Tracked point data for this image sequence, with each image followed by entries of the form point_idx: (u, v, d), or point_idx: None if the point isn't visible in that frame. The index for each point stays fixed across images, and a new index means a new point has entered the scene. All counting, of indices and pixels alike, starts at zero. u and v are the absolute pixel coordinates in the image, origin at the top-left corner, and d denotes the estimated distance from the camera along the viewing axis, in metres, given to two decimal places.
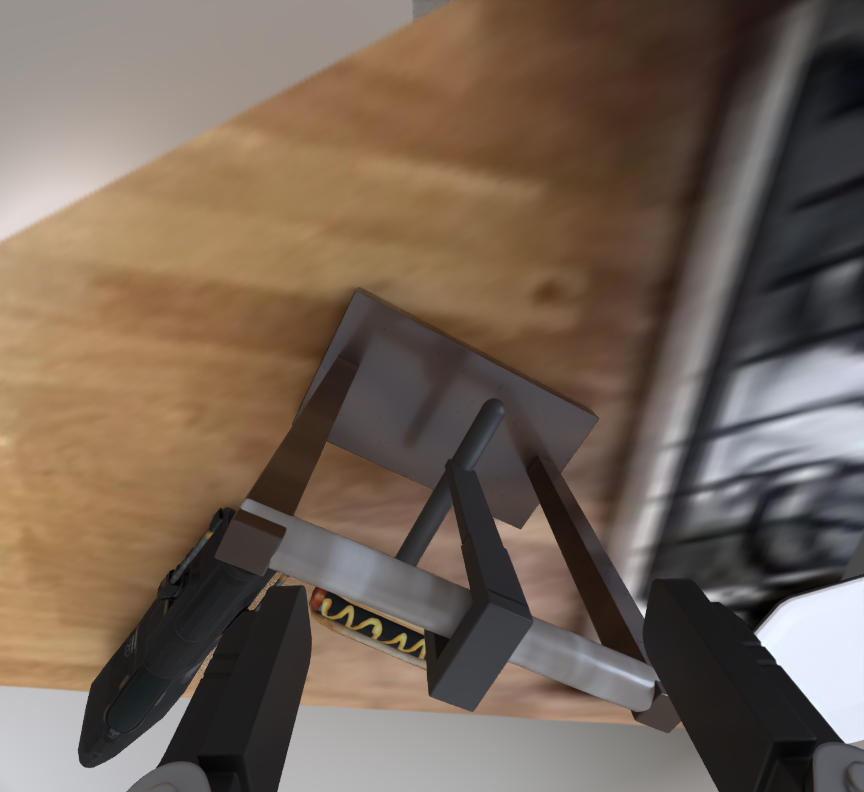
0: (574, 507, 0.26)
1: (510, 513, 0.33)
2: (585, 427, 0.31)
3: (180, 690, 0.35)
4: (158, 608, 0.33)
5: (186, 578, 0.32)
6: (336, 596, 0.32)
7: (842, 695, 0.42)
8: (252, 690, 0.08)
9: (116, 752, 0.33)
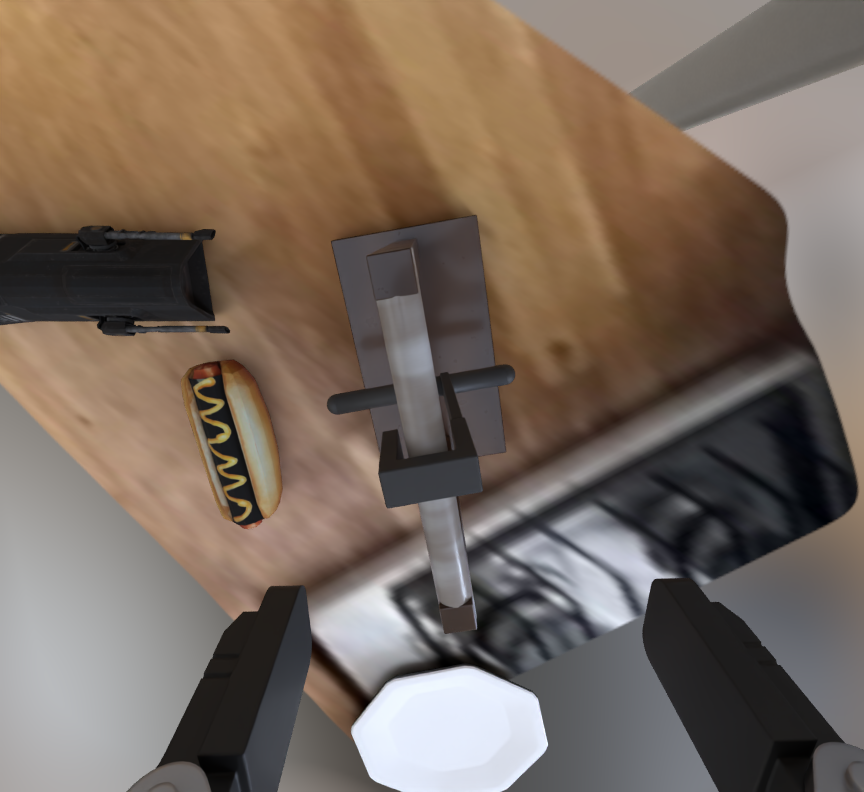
0: None
1: None
2: (493, 449, 0.37)
3: None
4: (54, 241, 0.29)
5: (114, 246, 0.29)
6: (221, 384, 0.31)
7: (430, 757, 0.51)
8: (252, 690, 0.08)
9: None
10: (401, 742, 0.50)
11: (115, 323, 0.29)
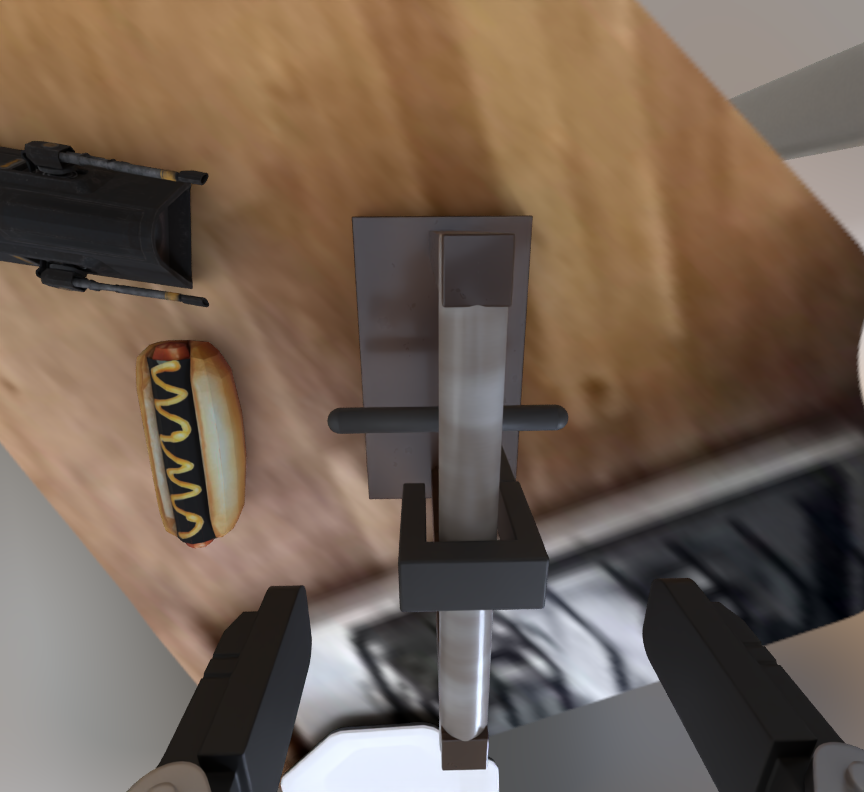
0: None
1: (380, 480, 0.31)
2: None
3: None
4: None
5: (73, 173, 0.22)
6: (187, 371, 0.25)
7: None
8: (252, 690, 0.08)
9: None
10: None
11: (60, 272, 0.23)
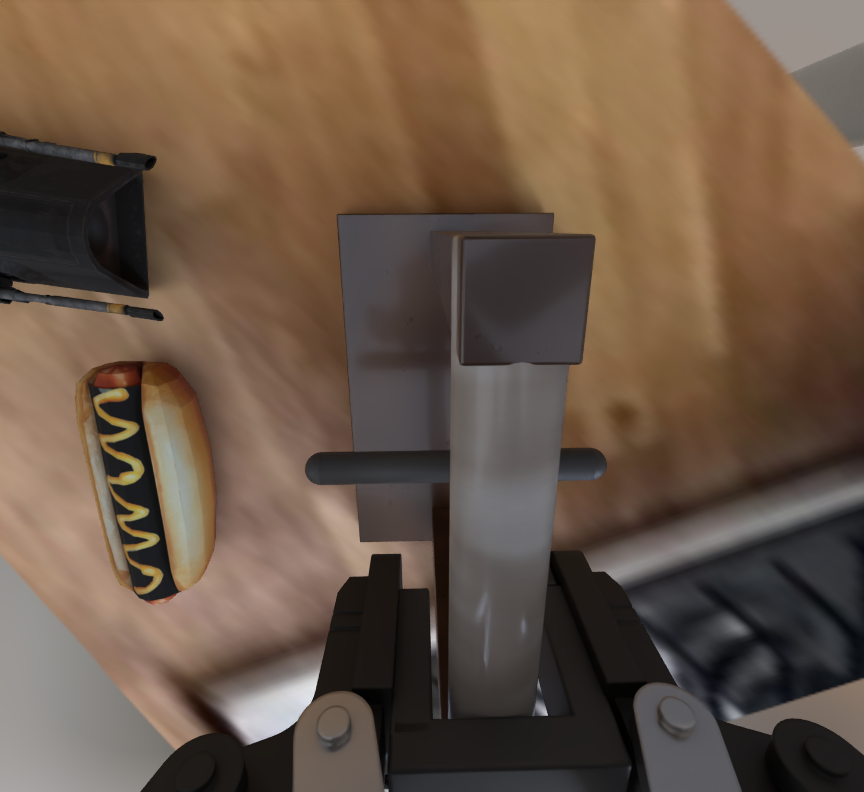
0: None
1: (373, 521, 0.27)
2: None
3: None
4: None
5: None
6: (137, 400, 0.21)
7: None
8: (383, 638, 0.09)
9: None
10: None
11: None
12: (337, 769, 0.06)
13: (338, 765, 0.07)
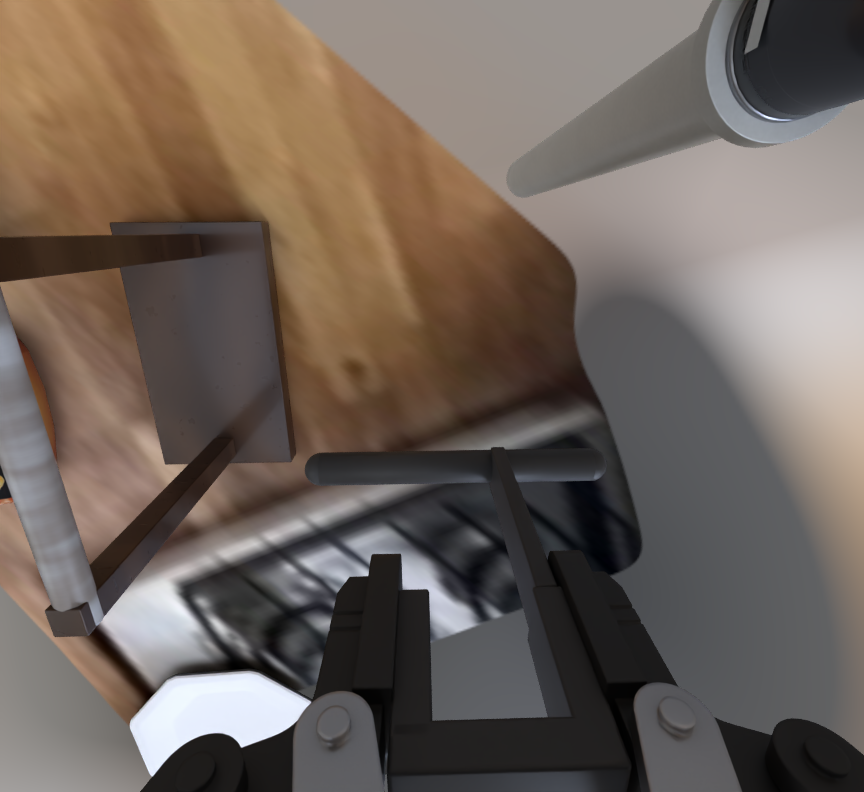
0: (202, 486, 0.31)
1: (172, 448, 0.36)
2: (278, 457, 0.37)
3: None
4: None
5: None
6: None
7: None
8: (383, 638, 0.09)
9: None
10: (186, 741, 0.49)
11: None
12: (337, 769, 0.06)
13: (338, 765, 0.07)
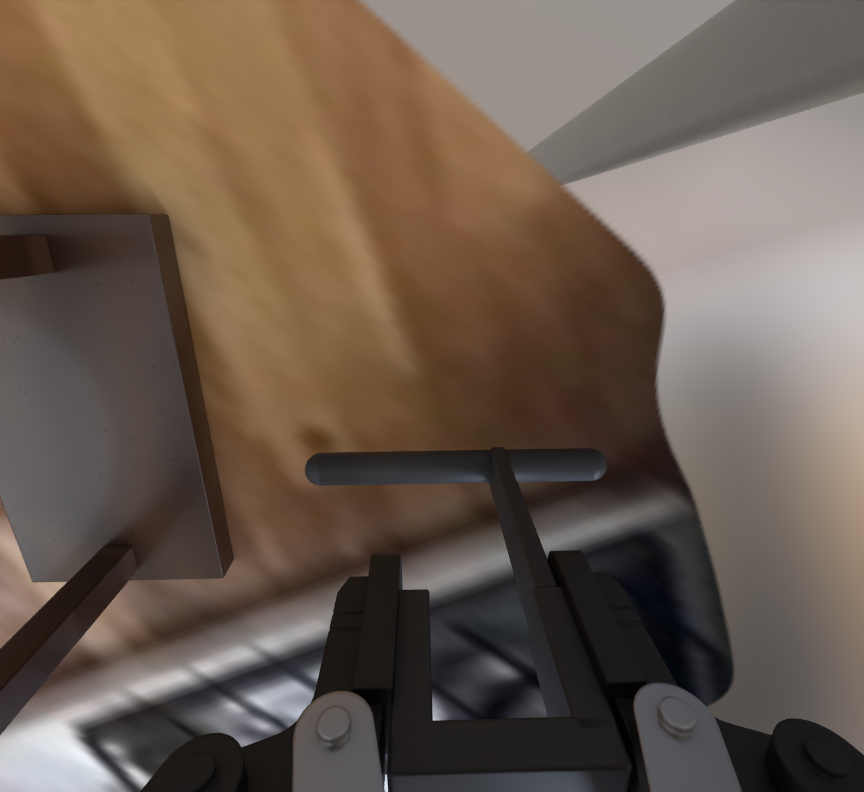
0: (53, 656, 0.18)
1: (40, 560, 0.24)
2: (202, 571, 0.24)
3: None
4: None
5: None
6: None
7: None
8: (383, 638, 0.09)
9: None
10: None
11: None
12: (337, 769, 0.06)
13: (338, 765, 0.07)
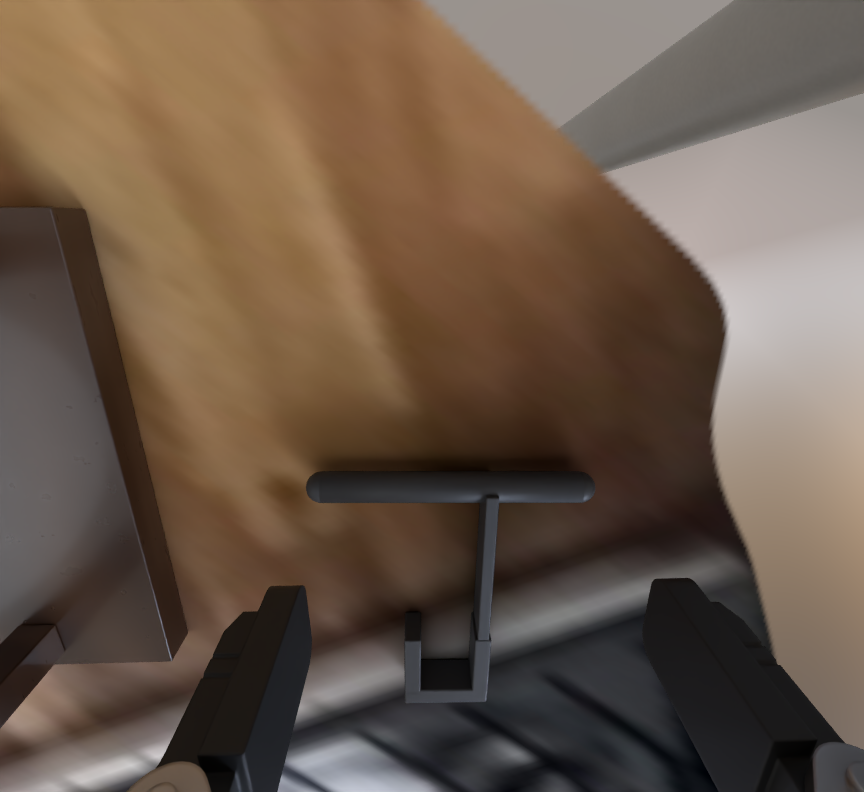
0: None
1: None
2: (145, 654, 0.19)
3: None
4: None
5: None
6: None
7: None
8: (252, 690, 0.08)
9: None
10: None
11: None
12: None
13: None
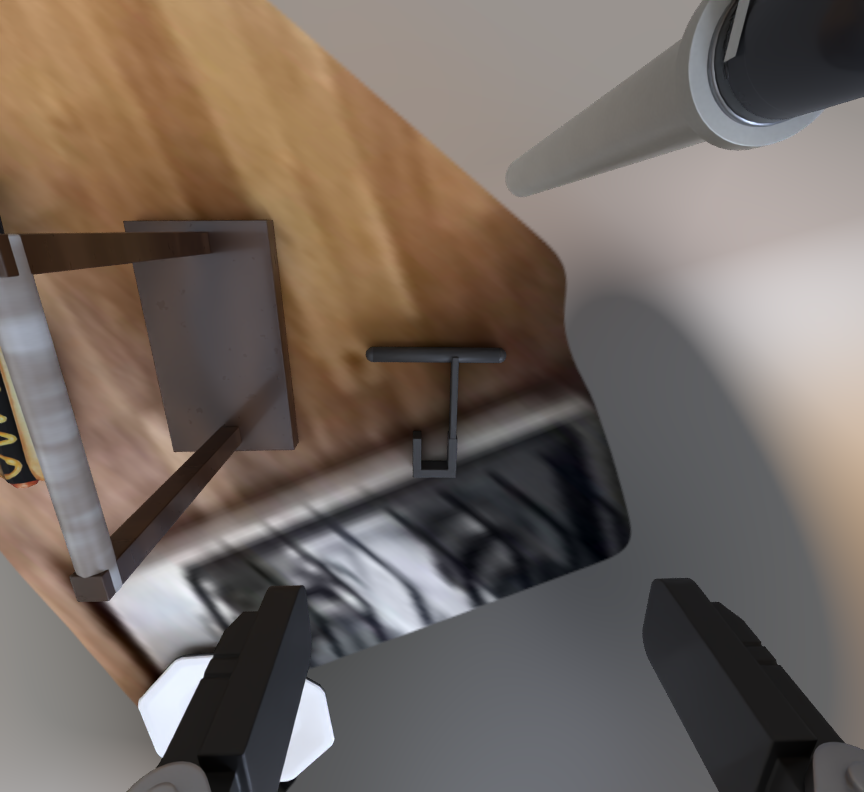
0: (211, 470, 0.33)
1: (180, 436, 0.38)
2: (281, 445, 0.38)
3: None
4: None
5: None
6: None
7: None
8: (252, 690, 0.08)
9: None
10: None
11: None
12: None
13: None
